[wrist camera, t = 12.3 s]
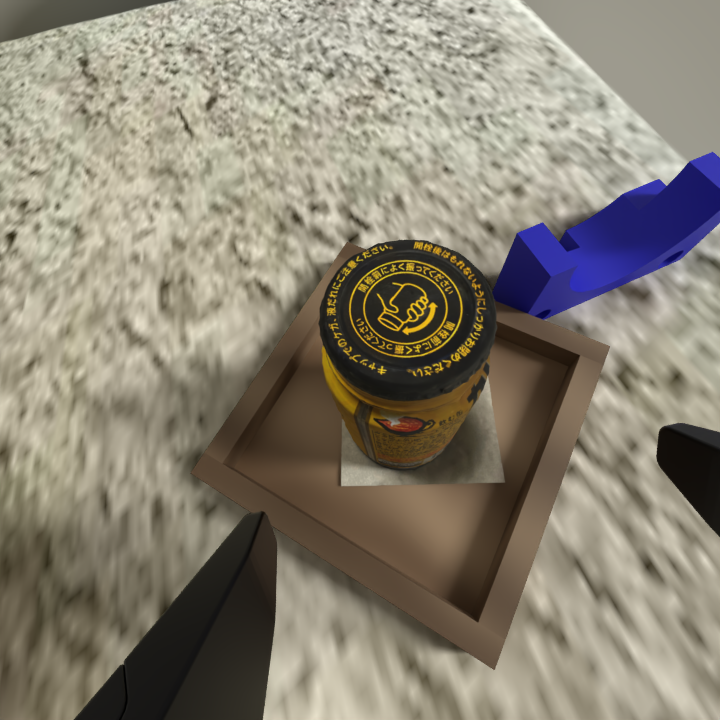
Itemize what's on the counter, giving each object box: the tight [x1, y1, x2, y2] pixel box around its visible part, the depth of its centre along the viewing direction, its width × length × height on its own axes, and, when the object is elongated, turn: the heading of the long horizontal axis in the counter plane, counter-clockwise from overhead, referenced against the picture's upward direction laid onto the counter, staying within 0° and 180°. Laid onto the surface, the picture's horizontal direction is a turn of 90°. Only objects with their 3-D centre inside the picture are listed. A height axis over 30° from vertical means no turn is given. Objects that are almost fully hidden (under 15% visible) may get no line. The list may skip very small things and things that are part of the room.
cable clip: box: [492, 152, 720, 320], centre depth 23 cm, size 12×4×6 cm, turn 114°
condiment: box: [318, 240, 505, 486], centre depth 17 cm, size 7×8×12 cm
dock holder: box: [191, 242, 610, 670], centre depth 22 cm, size 16×16×2 cm
